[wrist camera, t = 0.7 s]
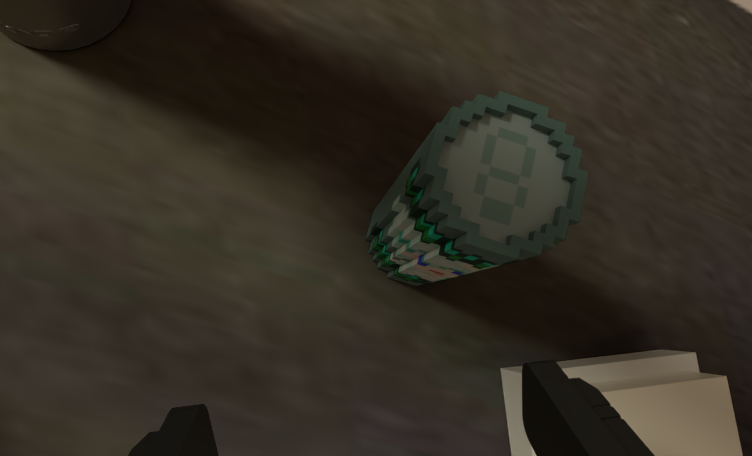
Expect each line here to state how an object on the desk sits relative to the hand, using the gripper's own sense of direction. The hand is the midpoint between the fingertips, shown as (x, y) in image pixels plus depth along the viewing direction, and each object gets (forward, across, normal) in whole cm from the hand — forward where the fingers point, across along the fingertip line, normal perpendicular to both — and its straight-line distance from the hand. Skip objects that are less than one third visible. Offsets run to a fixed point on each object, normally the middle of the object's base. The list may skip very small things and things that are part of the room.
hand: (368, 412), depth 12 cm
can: (+20, -4, +2) cm, 21 cm away
